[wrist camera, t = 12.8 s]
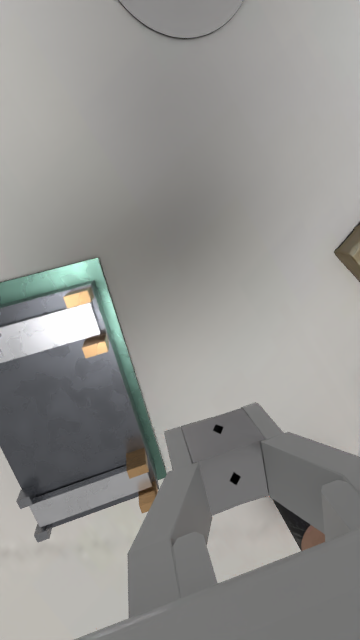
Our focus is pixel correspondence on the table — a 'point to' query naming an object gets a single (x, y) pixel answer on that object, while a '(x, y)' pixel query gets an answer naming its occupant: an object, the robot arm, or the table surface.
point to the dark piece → (73, 396)
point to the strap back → (87, 495)
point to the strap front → (47, 331)
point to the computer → (351, 252)
